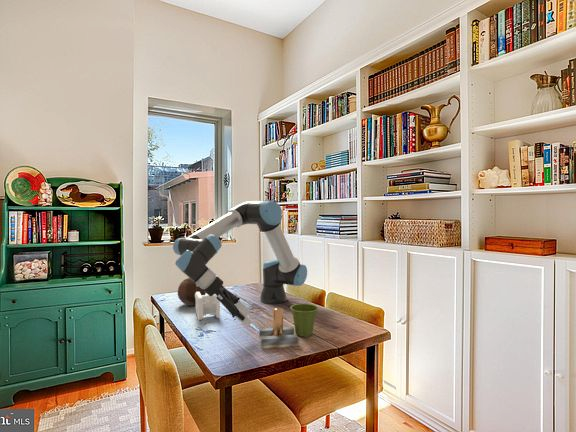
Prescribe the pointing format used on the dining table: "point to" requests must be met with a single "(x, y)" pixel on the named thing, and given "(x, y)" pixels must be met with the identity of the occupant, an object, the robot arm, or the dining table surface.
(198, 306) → the cable organizer
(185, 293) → the wooden sphere
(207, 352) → the dining table surface
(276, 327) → the copper pin
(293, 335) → the notch board
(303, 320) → the plant pot
